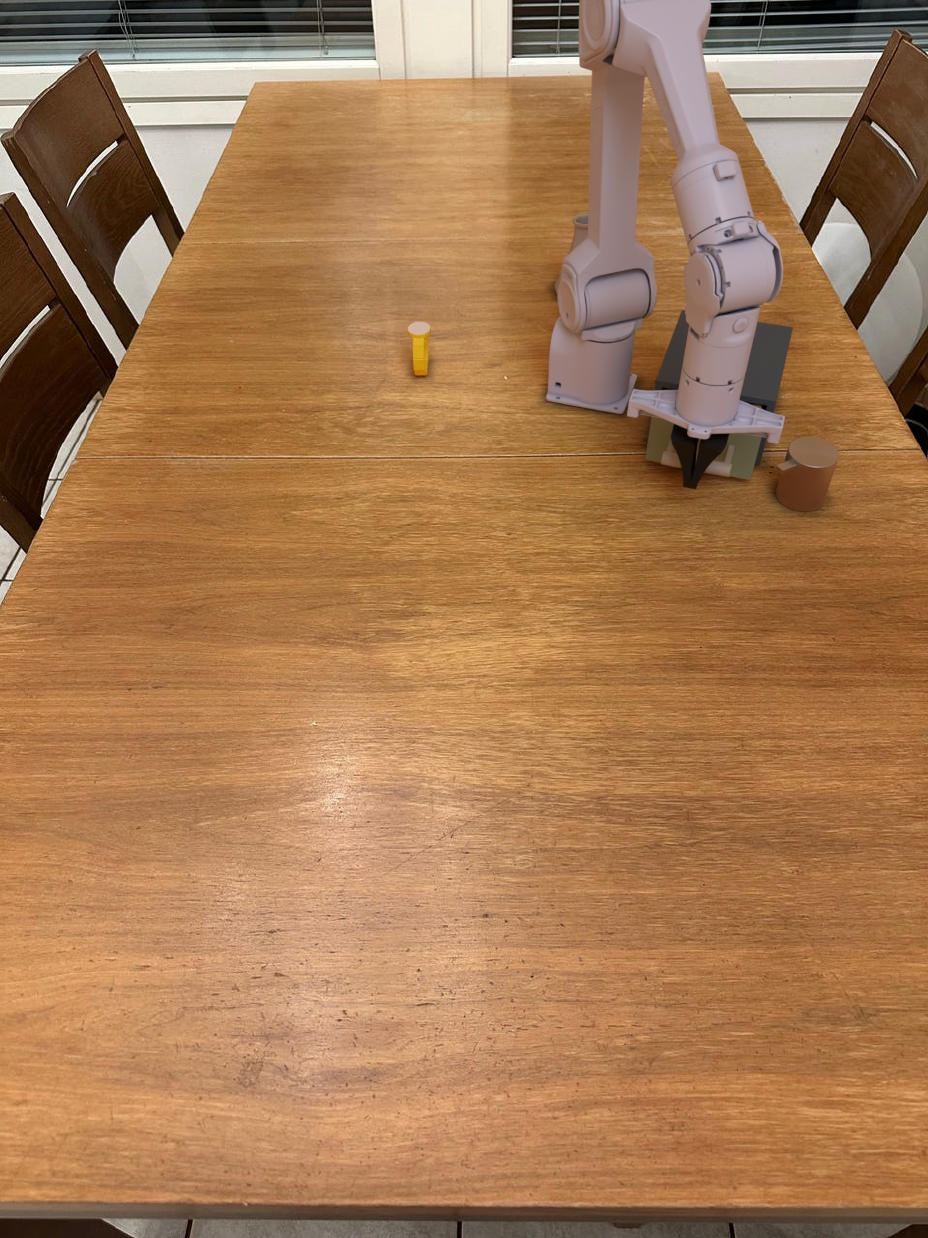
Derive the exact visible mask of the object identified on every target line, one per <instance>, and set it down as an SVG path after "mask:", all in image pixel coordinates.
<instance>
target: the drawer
mask: <svg viewBox="0 0 928 1238" xmlns="http://www.w3.org/2000/svg"><path fill="white" fill-rule="evenodd" d="M667 390H675V389H669V388H667ZM743 402H744V401H743ZM745 403H748V404H750V405H753V406H755V407H758V408H760V409H761V408H762V405H761V404H755V403H749V402H745ZM673 426H674V423H672V422H669V421H667V420H665V419H662V418H656V417H651V424H650V431H649V438H648V444H646V451H645V458H644V459H645V461H649V462H655V463H659V464H661V465H663V466H668V467H674V468H677V469H678V468H679V469H682V468H681V464H680V460H679V457H678V455H677V453H676V450H675V448H674V447H673V445H672V442H671V433H672V430H673ZM761 438H762V437H759V436H754V435H748V434H743V433H730V434H729V437H728V441H727V445H726V447H725V449H724V450H723V452H722V453H721V454H720V455H719V456H718V457H717V458H716V459H714V461H713V462H712V463H711V464H710V465H709V466H708V468H707V469H706V470H705V472H704V474H709V475H715V476H719V477H724V478H729V477H730V478H731V477H732V478H736V479H740V480H741V479H742V480H746V481H751V480H752V476H753V473H754V469H755V466H756V465H755V461H756V457H757V453H758V449H759V445H760V442H761ZM700 440H701V439H699V441H698V446H697V454H696V461H697V455H698V448H699V443H700ZM695 465H696V463H695Z"/></svg>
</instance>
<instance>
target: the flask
mask: <svg viewBox="0 0 928 1238" xmlns="http://www.w3.org/2000/svg"><path fill="white" fill-rule="evenodd" d="M572 223H573V225H574V227H573V229H574V230H573V236H572V241H571V245H570V248H569V250H568V253H567V255H568V254H569V253H570V252H571V251H573V250H574V249H575V248H576V247H577V246H578V245H579V244H581V243H582V242H583V241H584V240H585V239H586V238H587V236H588V213H586V212H585V213H577V214H575V216H573V217H572ZM561 274H562V268H561V269H560V272H559V274H558V276H557V279H556V281H555V282H554V286H553V287H554V290H555V293H556V294H557V293H558V286H559V284H560V280H561Z"/></svg>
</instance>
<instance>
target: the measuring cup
mask: <svg viewBox="0 0 928 1238" xmlns="http://www.w3.org/2000/svg"><path fill="white" fill-rule="evenodd" d="M785 454H786V455H785V458H784V461H783V462H780V463H777V464H776V465H775V468H774V469H775V471H776V472H777V473H779V474H780V475H779V478H778V482H777V486H776V489H775V496H776V500H777V501H778V502H779V503H780V504H781V505H782V506H784V507H785V508H787V509H790V510H792V511H796V512H802V513H803V512H804V513H805V512H814V511H815V510H818V509H819V508H821V507H822V506H823V504H824V502H825V500H826V497H827V494H828V491H829V488H830V486H831V482H832V480H833V476H834V473H835V471H836V467H837V465H838V461H839V459H840V451H839V449H838V448H837V447H836V446H835V445H834V444H833V443H832V442H831V441H829V440H827V439H824V438H822V437H818V436H810V435H809V436H806V435H805V436H800V437H797V438H794V440H791V442H790V443H789V445H788V447H787V451H786V453H785Z"/></svg>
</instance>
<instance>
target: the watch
mask: <svg viewBox="0 0 928 1238" xmlns="http://www.w3.org/2000/svg"><path fill="white" fill-rule="evenodd" d="M431 333H432V331H431V325H430V324H429V323H428V322H425V321H415V322H412V323H410V324H409V325H408V327H407V336H408V337H409V338H411V339H412V365H413V374H414V375H415V376H419V377H420V376H427V375H428V367H429V337H430V336H431Z"/></svg>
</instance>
